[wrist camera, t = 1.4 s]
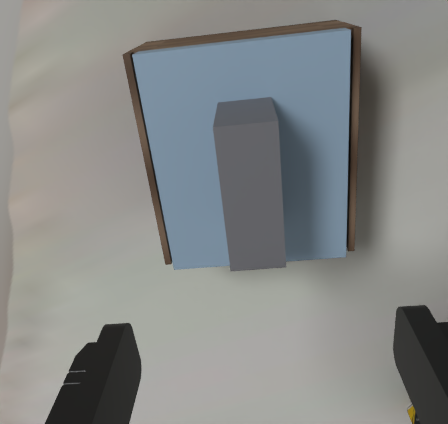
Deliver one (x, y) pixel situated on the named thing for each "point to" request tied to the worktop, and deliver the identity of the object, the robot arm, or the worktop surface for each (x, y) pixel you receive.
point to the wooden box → (240, 36)
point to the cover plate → (299, 137)
